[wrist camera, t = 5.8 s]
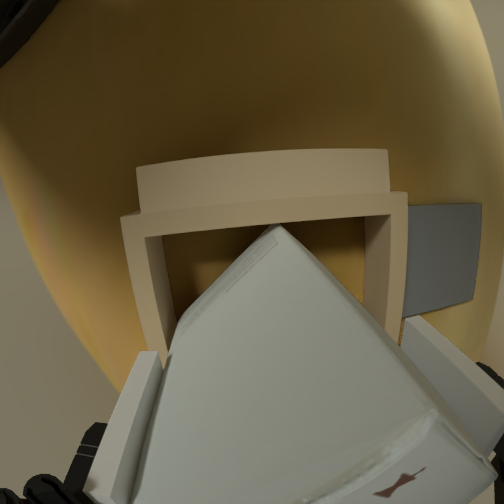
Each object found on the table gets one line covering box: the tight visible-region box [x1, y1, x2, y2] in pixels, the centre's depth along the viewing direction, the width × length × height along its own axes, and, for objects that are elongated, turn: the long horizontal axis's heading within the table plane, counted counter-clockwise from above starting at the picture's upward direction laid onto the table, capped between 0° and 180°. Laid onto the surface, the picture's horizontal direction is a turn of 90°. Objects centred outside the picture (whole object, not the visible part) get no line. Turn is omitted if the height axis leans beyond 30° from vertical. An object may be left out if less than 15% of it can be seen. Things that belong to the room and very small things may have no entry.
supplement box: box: [130, 223, 498, 504], centre depth 9 cm, size 7×7×13 cm
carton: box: [120, 148, 408, 370], centre depth 15 cm, size 13×17×3 cm
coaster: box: [402, 203, 482, 318], centre depth 16 cm, size 7×7×1 cm
